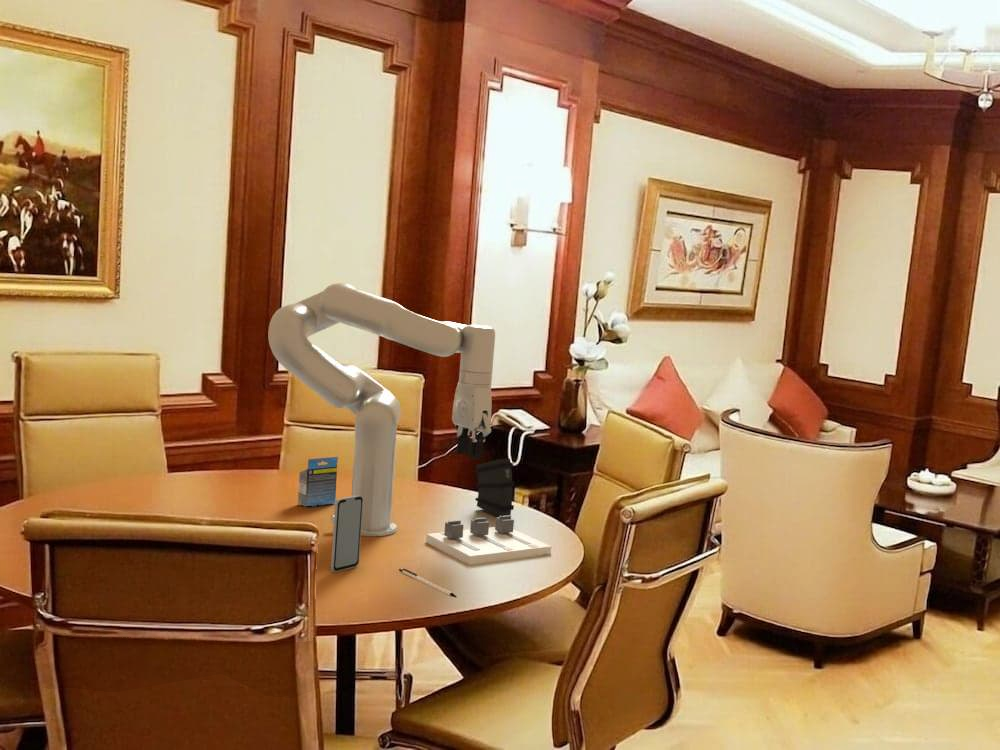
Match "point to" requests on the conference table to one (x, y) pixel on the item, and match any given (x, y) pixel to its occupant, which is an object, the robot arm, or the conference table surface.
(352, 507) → the smartphone
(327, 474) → the label tape cartridge
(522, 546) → the switch panel
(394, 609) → the conference table surface
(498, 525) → the tab right
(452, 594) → the pen
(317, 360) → the robot arm
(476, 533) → the tab middle
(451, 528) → the tab left
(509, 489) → the black upright block
